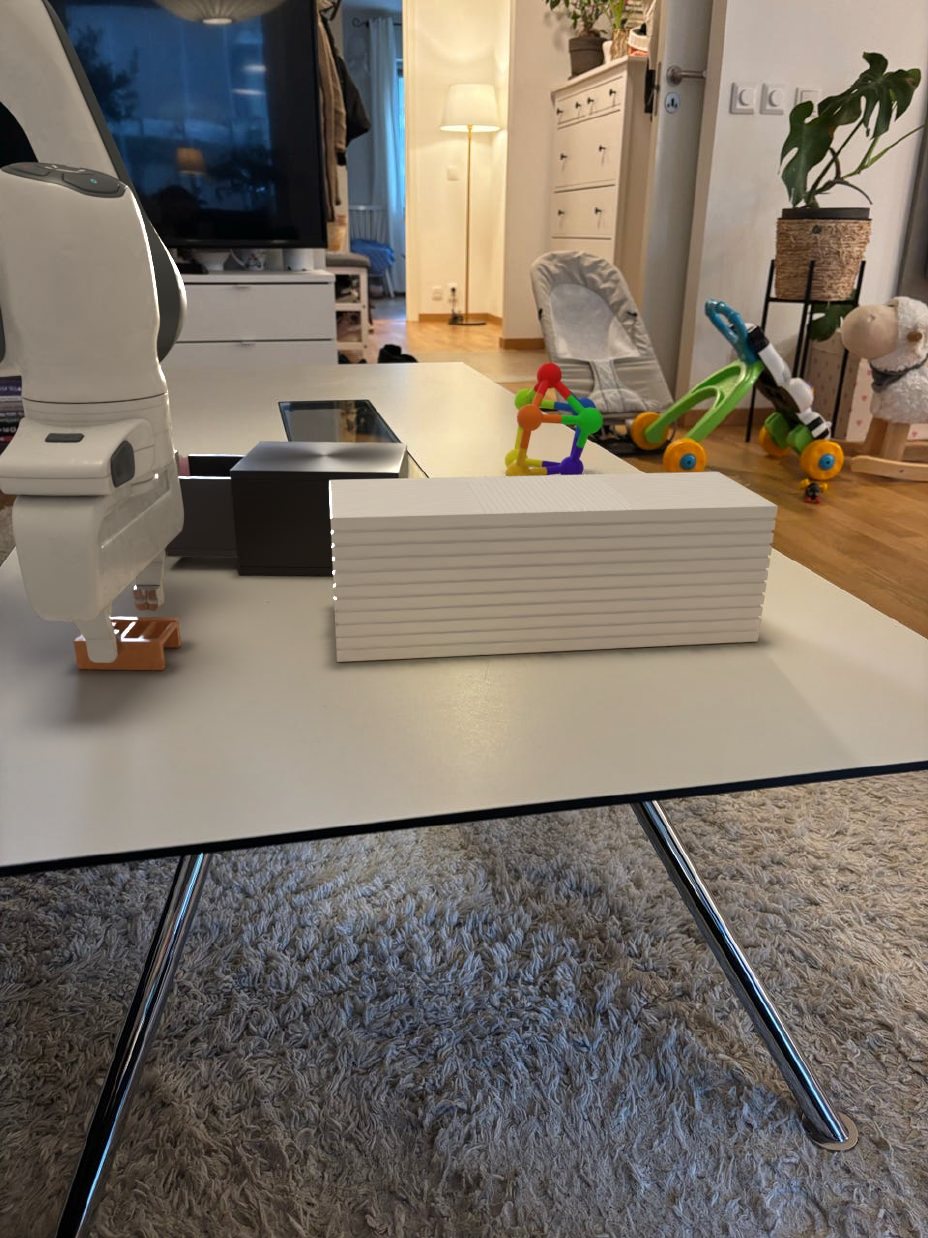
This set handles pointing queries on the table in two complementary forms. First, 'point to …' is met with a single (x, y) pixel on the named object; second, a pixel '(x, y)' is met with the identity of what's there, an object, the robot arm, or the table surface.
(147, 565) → the robot arm
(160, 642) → the rack
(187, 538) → the drawer
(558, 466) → the educational toy
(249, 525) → the brushed black cube
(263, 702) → the table surface
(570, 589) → the stack of papers
